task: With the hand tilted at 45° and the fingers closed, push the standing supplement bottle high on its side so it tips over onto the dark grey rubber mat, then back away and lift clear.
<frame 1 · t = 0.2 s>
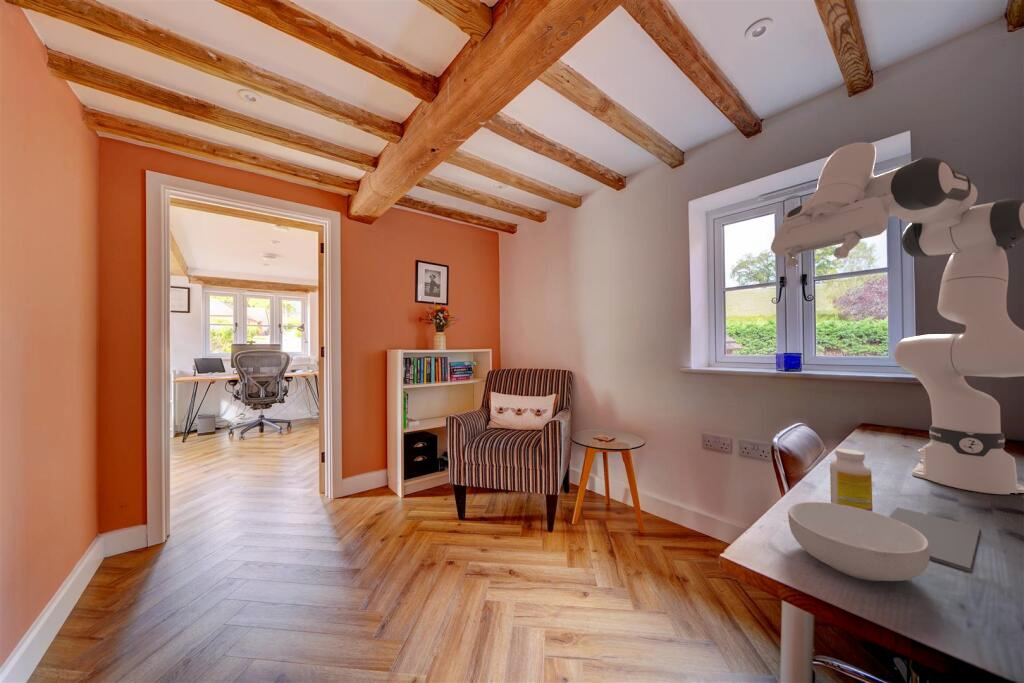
hand: (813, 262, 76), 54 cm above the table, tool tilted 30°, fingers open, 8 cm apart
supplement bottle: (851, 511, 78), on the table
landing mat: (927, 535, 68), on the table
cereal bowl: (852, 567, 59), on the table
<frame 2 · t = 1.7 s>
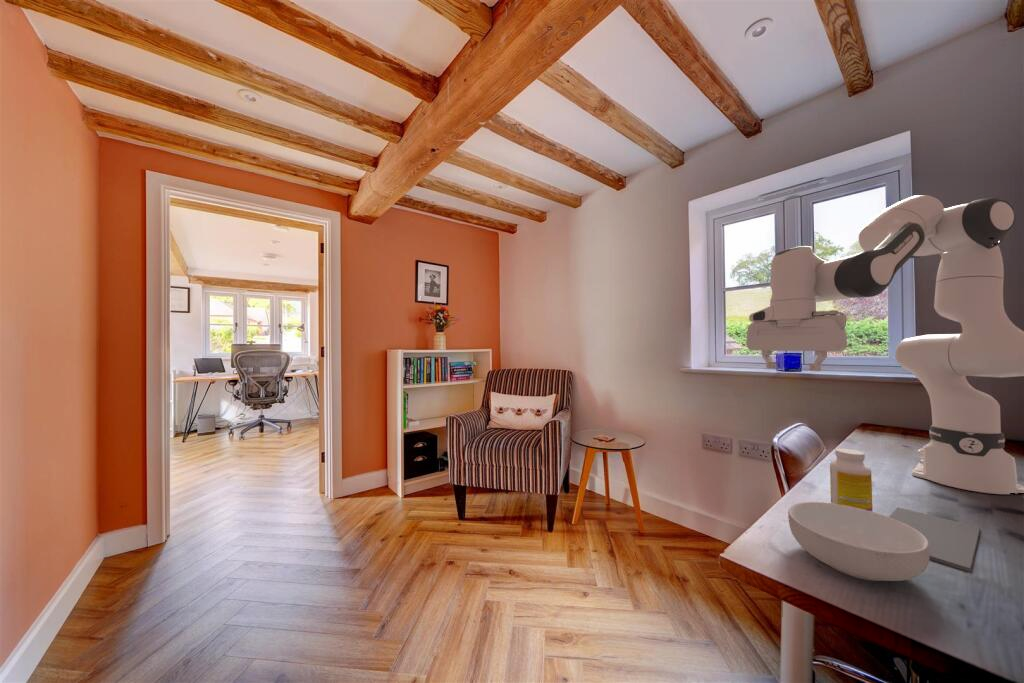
hand: (792, 369, 87), 30 cm above the table, tool pointing down, fingers open, 8 cm apart
nothing on the table moved.
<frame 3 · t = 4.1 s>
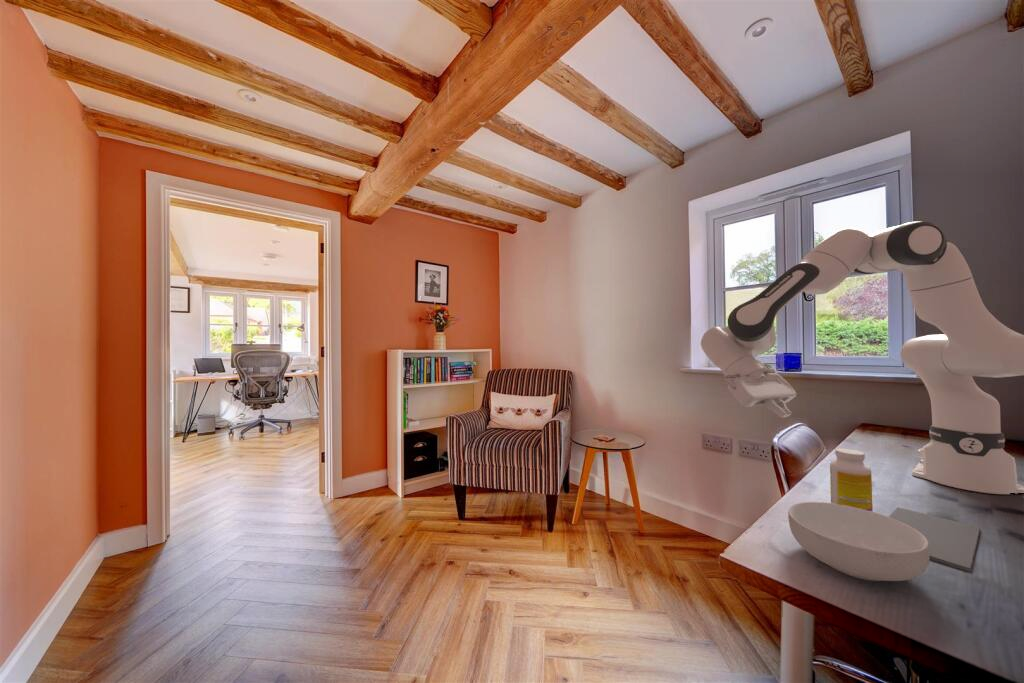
hand: (786, 415, 90), 18 cm above the table, tool tilted 45°, fingers closed
nothing on the table moved.
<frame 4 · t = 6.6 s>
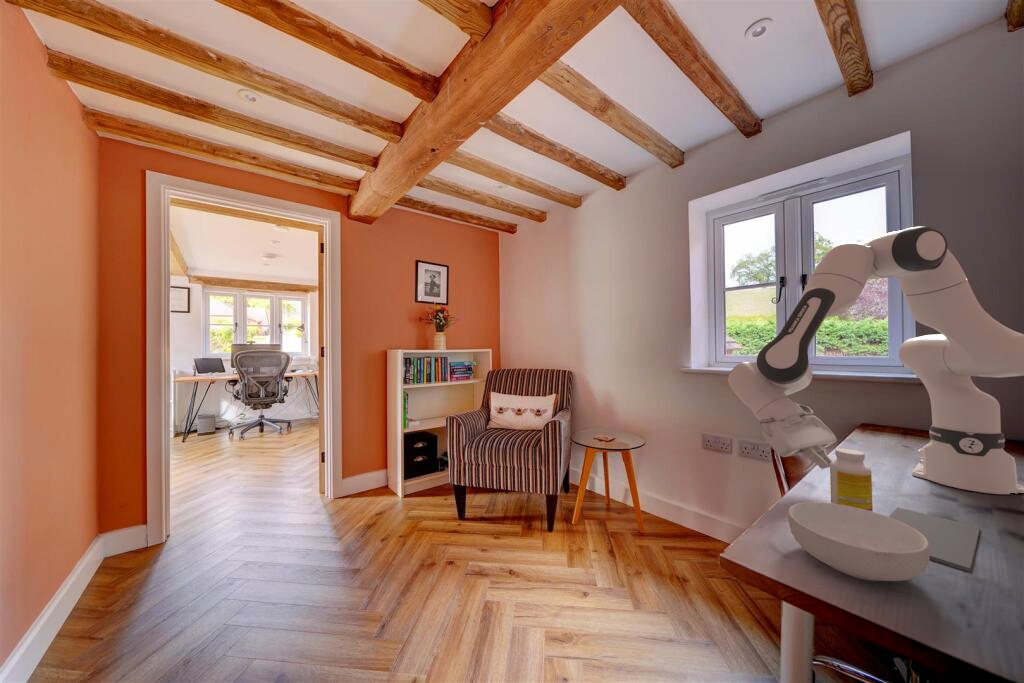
hand: (828, 466, 82), 8 cm above the table, tool tilted 45°, fingers closed, pressing on supplement bottle
supplement bottle: (851, 511, 78), on the table, touching gripper
everything else where it was.
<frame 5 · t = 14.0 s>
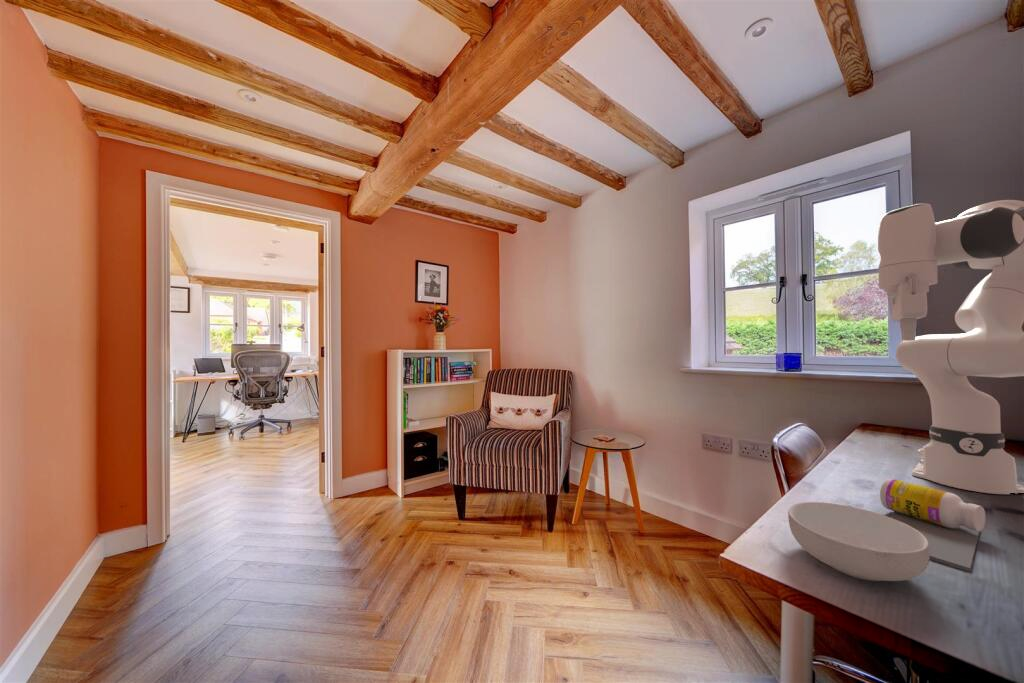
hand: (908, 340, 80), 37 cm above the table, tool pointing down, fingers closed
supplement bottle: (885, 492, 78), point 4 cm above the table, touching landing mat
everything else where it was.
at the end: supplement bottle tilted 89°; supplement bottle touching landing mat; supplement bottle 10.9 cm from the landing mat (horizontally) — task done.
